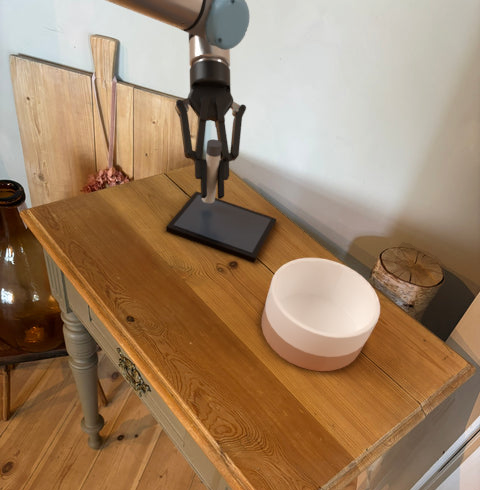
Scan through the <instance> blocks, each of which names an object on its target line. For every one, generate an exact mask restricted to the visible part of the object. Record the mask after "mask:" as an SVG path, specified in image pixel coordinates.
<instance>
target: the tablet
mask: <svg viewBox="0 0 480 490" xmlns="http://www.w3.org/2000/svg"><path fill="white" fill-rule="evenodd" d="M276 224H277V218H275V217H272V216H270V215H267V214H264V213H261V212H257V211H255V210H253V209H248V208H247V207H244V206H240V205H238V204H235V203H231V202H228V201H226V200H223V199H218V197H215V201H214V202H213V203H205V202H203V201H202V198H201V191H197V190H196V191H195V192H194V193H193V194H192V195H191V197H190V198H189V199H188V200H187V201H186V203H184V205H183V206H182V207H181V209H179V211H178V212H177V213H176V215H175V216H174V217H173V218H172V219H171V220H170V221H169V223H168V224H167V225H166V227H165V229H166V232H167V233H169V234H172V235H175V236H178V237H181V238H184V239H185V240H189V241H191V242H195V243H197V244H201V245H203V246H206V247H209V248H211V249H215V250H217V251H220V252H222V253H225V254H227V255H231V256H234V257H237V258H239V259H241V260H245V261H247V262H251V263H253V264H254V263H255V262H256V260H257V258H258V257H259V254H260V253H261V251H262V250H263V248H264V246H265V244H266V242H267V240H268V238H269V237H270V235H271V233H272V231H273V229H274V228H275V225H276Z"/></svg>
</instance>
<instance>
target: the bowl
mask: <svg viewBox="0 0 480 490" xmlns="http://www.w3.org/2000/svg"><path fill="white" fill-rule="evenodd" d="M380 315H381V304H380V298H379V296H378V294H377V292H376V290H375V289H374V287H373V286H372V284H371V283H370V282H369V281H368V280H366V278H365V277H363V275H361V274H360V273H358V271H356V270H354V269H352V268H351V267H349V266H347V265H345V264H342V263H340V262H338V261H334V260H331V259H327V258H321V257H302V258H296V259H293V260H290V261H288V262H286V263H285V264H283V265H281V266H280V267H279V268H278V269H277V270H276V272H275V273H274V274H273V276H272V278H271V282H270V284H269V289H268V292H267V296H266V299H265V304H264V308H263V311H262V315H261V326H260V327H261V329H262V334H263V337H264V338H265V340H266V343H267V344H268V345H269V346H270V348H271V349H272V350H273V351H274V352H275V353H276V354H277V355H278V356H279V357H280V358H282V359H284V360H285V361H286V362H288V363H290V364H292V365H295V366H296V367H299V368H302V369H306V370H309V371H316V372H332V371H336V370H341V369H343V368H344V367H348V366H349V365H350V364H351V363H353V362H354V361H355V360H356V358H357V357H358V356H359V354H360V353H361V351H362V349H363V348H364V346H365V344H366V342H367V341H368V339H369V337H370V336H371V334H372V333H373V330H374V328H375V327H376V325H377V323H378V321H379V318H380Z"/></svg>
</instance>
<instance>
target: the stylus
mask: <svg viewBox="0 0 480 490" xmlns="http://www.w3.org/2000/svg"><path fill="white" fill-rule="evenodd" d="M221 147H222V143H221V142H220V141H218V139H209V140H207V142H206V151H205V152H206V154H205V159H206V167H207V196H206V197H205V198H202V201H203V202H205V203H213V202H214V201H215V198H216V192H217V187H218V185H217V178H218V170H219V162H220V160H221V159H220V154H221Z"/></svg>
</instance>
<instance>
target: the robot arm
mask: <svg viewBox="0 0 480 490" xmlns="http://www.w3.org/2000/svg"><path fill="white" fill-rule="evenodd" d="M105 2H109V3H111V4H114V5H117V6H119V7H121V8H124V9H127V10H129V11H132V12H135V13H137V14H140V15H143V16H145V17H148V18H150V19H153V20H156V21H159V22H161V23H163V24H166V25H168V26H171V27H174V28H176V29H178V30H181V31H183V32H185V33H188V48H189V51H188V52H189V53H188V54H189V55H188V56H189V58H188V59H189V60H188V61H189V67H190V68H189V92H188V95H187V98H184V99H177V100H176V101H175V105H174V109H175V112H176V113H177V116H178V118H179V124H180V131H181V132H180V133H181V140H182V146H183V153H184V158H186V159H188V160H189V159H190V160H191V161H193V162H194V177H195V180H200V193H201V198H205V197H206V196H207V167H206V158H205V159H203V153H204V144H205V134H206V126H207V125H206V124H207V122H209V121H211V122H214V126H215V129H216V138H217V140H218V141H220V142H221V143H222V147H221V154H220V162H219V170H218V178H217V199H220V200H223V198H224V197H225V181H228V180H229V178H230V162H232V161H233V162H235V160H236V159H237V158H238V157H239V155H240V146H241V145H240V144H241V134H242V122H243V117H244V114H245V112H246V111H247V106H246V105H245V104H239V103H237V102H236V101H234V97H233V96H232V92H231V91H232V90H231V88H232V87H231V69H230V67H231V50H232V49H234V48H235V47H237V46H238V45H239V44H240V43H241V42H242V41H243V39H244V38H245V36H246V33H247V31H248V28H249V25H250V17H251V16H250V9H249V5H248V4H247V1H246V0H105ZM189 106H190V107H189ZM190 108H191V109H192V111H193V112H194V114H195V115H196V116H197V127H196V135H195V146H194V147H195V148H194V150H193V144H192V137H191V129H190V121H189V115H188V113H189V110H190ZM230 109H231V115H232V116H233V121H232V131H231V141H230V150H229V144H228V135H227V128H226V123H225V122H226V119H225V118H226V117H225V116H226V114H227V113H228V112H229V111H230ZM229 151H230V152H229Z"/></svg>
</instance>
